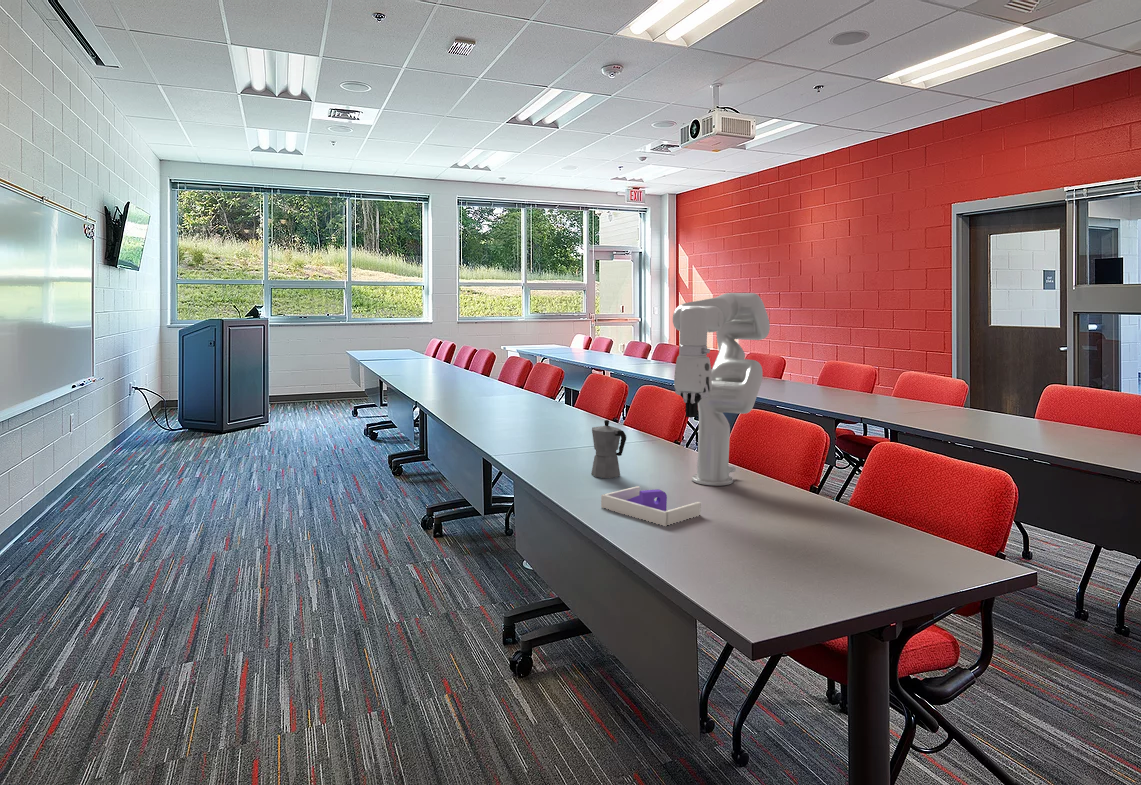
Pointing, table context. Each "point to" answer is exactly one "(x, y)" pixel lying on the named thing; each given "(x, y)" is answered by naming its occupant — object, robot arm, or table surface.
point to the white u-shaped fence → (647, 508)
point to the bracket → (651, 499)
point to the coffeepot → (607, 450)
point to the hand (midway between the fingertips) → (691, 416)
